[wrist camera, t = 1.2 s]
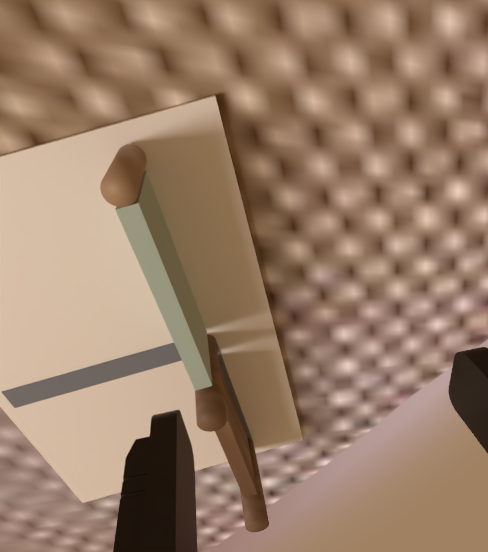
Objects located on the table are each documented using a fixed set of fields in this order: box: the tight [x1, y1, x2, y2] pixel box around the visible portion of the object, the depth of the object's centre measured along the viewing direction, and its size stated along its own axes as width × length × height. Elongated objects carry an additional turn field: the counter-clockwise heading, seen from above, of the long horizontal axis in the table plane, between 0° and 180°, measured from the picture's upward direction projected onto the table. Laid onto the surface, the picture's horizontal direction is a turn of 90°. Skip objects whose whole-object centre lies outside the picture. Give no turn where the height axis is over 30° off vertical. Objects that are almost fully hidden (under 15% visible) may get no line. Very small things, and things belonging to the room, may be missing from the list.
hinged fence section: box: [100, 144, 212, 391], centre depth 25 cm, size 2×15×6 cm, turn 13°
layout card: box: [0, 95, 303, 503], centre depth 33 cm, size 24×34×1 cm
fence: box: [195, 334, 269, 532], centre depth 33 cm, size 2×16×8 cm, turn 14°
